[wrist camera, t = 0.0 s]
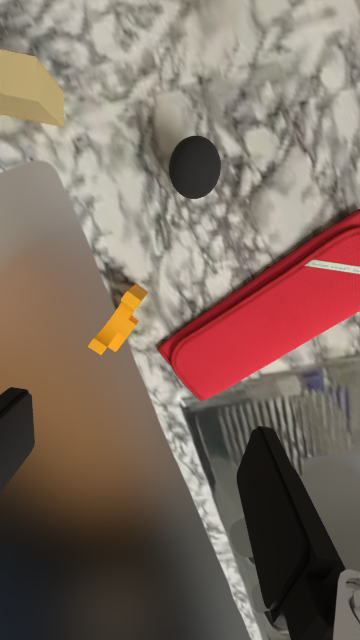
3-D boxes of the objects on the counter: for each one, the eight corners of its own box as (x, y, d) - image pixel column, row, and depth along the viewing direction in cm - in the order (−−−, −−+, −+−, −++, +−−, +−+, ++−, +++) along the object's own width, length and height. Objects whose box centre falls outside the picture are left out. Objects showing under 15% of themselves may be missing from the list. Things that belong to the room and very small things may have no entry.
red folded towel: (156, 344, 43) (153, 353, 39) (354, 206, 34) (373, 201, 30) (201, 397, 46) (202, 409, 43) (389, 284, 38) (410, 288, 34)
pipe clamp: (120, 344, 42) (109, 360, 36) (102, 332, 42) (87, 346, 35) (155, 298, 39) (150, 307, 33) (136, 283, 38) (127, 290, 32)
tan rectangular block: (-27, 74, 29) (-77, 33, 24) (64, 93, 30) (35, 56, 24) (-23, 110, 31) (-70, 79, 25) (64, 127, 31) (37, 101, 25)
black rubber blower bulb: (200, 215, 34) (205, 203, 25) (165, 194, 33) (157, 173, 24) (221, 175, 32) (236, 144, 23) (184, 151, 32) (184, 110, 22)
